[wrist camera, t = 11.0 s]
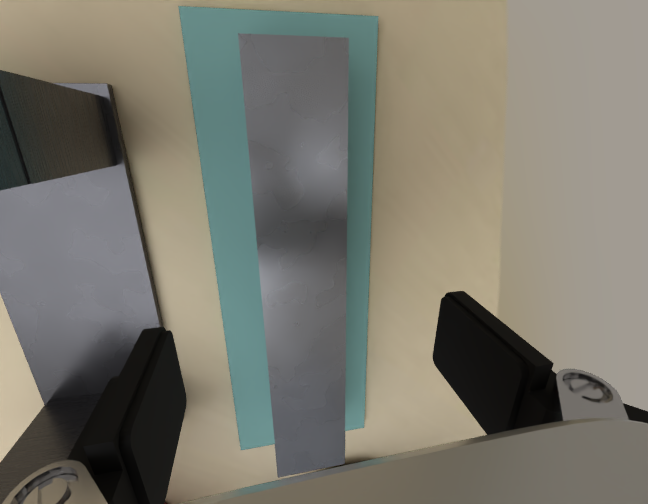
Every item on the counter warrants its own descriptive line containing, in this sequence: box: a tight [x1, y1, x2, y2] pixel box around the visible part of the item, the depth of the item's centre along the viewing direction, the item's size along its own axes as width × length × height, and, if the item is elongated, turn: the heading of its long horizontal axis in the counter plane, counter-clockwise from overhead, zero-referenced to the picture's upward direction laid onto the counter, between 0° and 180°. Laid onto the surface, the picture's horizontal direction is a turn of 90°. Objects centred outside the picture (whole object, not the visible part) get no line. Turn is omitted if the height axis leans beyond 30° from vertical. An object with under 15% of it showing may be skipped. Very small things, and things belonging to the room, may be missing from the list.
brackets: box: [0, 70, 163, 504], centre depth 14 cm, size 20×7×9 cm, turn 1°
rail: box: [238, 33, 349, 477], centre depth 17 cm, size 22×4×4 cm, turn 1°
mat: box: [179, 6, 378, 450], centre depth 19 cm, size 26×9×1 cm, turn 1°
